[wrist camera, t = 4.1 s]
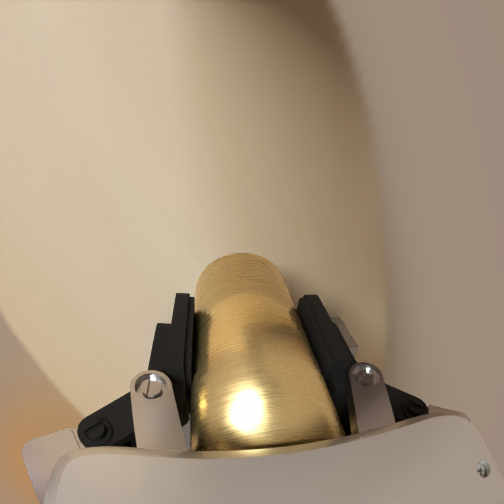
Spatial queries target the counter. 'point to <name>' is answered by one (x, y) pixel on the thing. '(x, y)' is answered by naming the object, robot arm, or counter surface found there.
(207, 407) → the gold rounded cylinder
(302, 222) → the counter surface
